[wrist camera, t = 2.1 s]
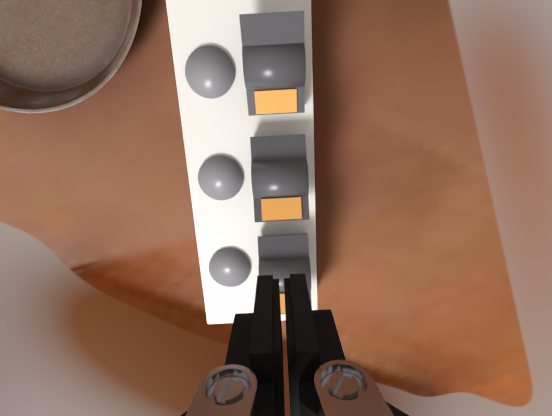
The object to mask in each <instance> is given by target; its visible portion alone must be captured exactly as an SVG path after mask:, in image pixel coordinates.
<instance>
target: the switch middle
mask: <svg viewBox="0 0 552 416" xmlns="http://www.w3.org/2000/svg"><path fill="white" fill-rule="evenodd" d="M250 144H251V181H252V193H253V200H254V219H255V222H274V221H293V220H310V219H309V199H308V194H309V176H308V164H307V159H306V139H305V134H295V135H276V136H258V137H250Z"/></svg>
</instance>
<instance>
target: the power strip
mask: <svg viewBox="0 0 552 416" xmlns="http://www.w3.org/2000/svg"><path fill="white" fill-rule="evenodd" d="M166 6H167V14H168V22H169V29H170V37H171V45H172V53H173V60H174V68H175V76H176V84H177V91H178V99H179V107H180V115H181V123H182V130H183V138H184V146H185V154H186V161H187V169H188V177H189V185H190V192H191V200H192V208H193V216H194V224H195V231H196V239H197V247H198V255H199V262H200V270H201V278H202V286H203V293H204V301H205V309H206V317H207V324H221V323H233V322H234V317H235V314H240V313H253V312H254V303H255V294H256V284H257V276H258V275H259V256H258V236H263V235H282V234H302V233H307V234H308V244H309V259H310V268H311V304H312V310H317V266H316V217H315V169H314V120H313V71H312V23H311V0H166ZM288 11H304V44H305V58H306V78H305V113H290V114H271V115H253V116H249V115H248V104H247V94H246V87H245V82H244V73H243V61H242V40H241V29H240V19H239V14H254V13H271V12H288ZM295 134H305V139H306V159H307V164H308V176H309V194H308V199H309V219H310V220H293V221H274V222H255V219H254V200H253V193H252V181H251V144H250V137H258V136H276V135H295ZM284 320H286V314H281V321H284Z"/></svg>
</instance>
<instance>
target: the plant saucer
mask: <svg viewBox="0 0 552 416" xmlns="http://www.w3.org/2000/svg"><path fill="white" fill-rule="evenodd" d="M141 7H142V0H0V109H2V110H7V111H12V112H20V113H43V112H51V111H56V110H60V109H64V108H67V107H70V106H72V105H75V104H77V103H79V102H81V101H83V100H85V99H87V98H88V97H90V96H92V95H93V94H94V93H96V92H97V91H98V90H100V89H101V88H102V87H103V86H104V85H105V84H106V83H107V82H108V81H109V80H110V79H111V78H112V77H113V75H114V74H115V73H116V72H117V70H118V69H119V67H120V66H121V64H122V63H123V61H124V59H125V58H126V56H127V54H128V52H129V50H130V47H131V45H132V43H133V40H134V37H135V34H136V31H137V27H138V23H139V19H140V13H141Z"/></svg>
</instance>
